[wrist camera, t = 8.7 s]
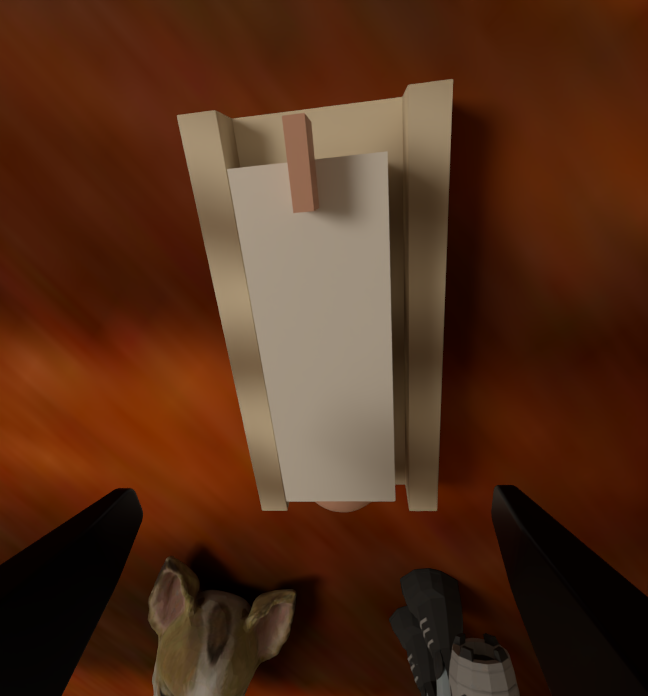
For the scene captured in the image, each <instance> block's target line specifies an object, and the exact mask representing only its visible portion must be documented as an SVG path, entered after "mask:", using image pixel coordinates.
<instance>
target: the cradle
mask: <svg viewBox="0 0 648 696" xmlns="http://www.w3.org/2000/svg"><path fill="white" fill-rule="evenodd" d="M452 95H453V79H450V80H442V81H435V82H427V83H419V84H412V85H408V87H407V89H406V91H405V93H404V95H403V97H399V98H391V99H384V100H376V101H368V102H360V103H352V104H345V105H337V106H329V107H321V108H313V109H305V110H298V111H290V112H282V113H274V114H266V115H259V116H251V117H243V118H235V119H231V118H229V117H227V116H225V115H223V114H221V113H219V112H217V111H215V110H214V111H206V112H199V113H191V114H184V115H177V119H178V123H179V128H180V133H181V137H182V142H183V147H184V151H185V156H186V160H187V165H188V170H189V174H190V179H191V184H192V188H193V193H194V197H195V202H196V207H197V211H198V216H199V221H200V225H201V230H202V234H203V239H204V244H205V248H206V253H207V257H208V262H209V267H210V271H211V276H212V281H213V285H214V290H215V294H216V299H217V304H218V308H219V313H220V318H221V322H222V327H223V331H224V336H225V341H226V345H227V350H228V355H229V359H230V364H231V368H232V373H233V378H234V382H235V387H236V392H237V396H238V401H239V405H240V410H241V415H242V419H243V424H244V429H245V433H246V438H247V442H248V447H249V452H250V456H251V461H252V466H253V470H254V475H255V479H256V484H257V489H258V493H259V498H260V503H261V507H262V511H287V509H288V505H289V501H286V497H285V491H284V486H283V480H282V474H281V469H280V463H279V458H278V452H277V446H276V441H275V435H274V430H273V424H272V418H271V413H270V407H269V402H268V396H267V390H266V385H265V379H264V374H263V368H262V362H261V357H260V351H259V346H258V340H257V334H256V329H255V323H254V318H253V312H252V306H251V301H250V295H249V290H248V284H247V278H246V273H245V267H244V262H243V256H242V251H241V245H240V239H239V234H238V228H237V223H236V217H235V211H234V206H233V200H232V195H231V189H230V183H229V178H228V172H227V169H233V168H242V167H251V166H260V165H269V164H278V163H287V156H286V147H285V139H284V131H283V122H282V116H284V115H292V114H300V113H305V114H306V116H307V117H308V118H309V119H310V121H311V124H312V134H313V145H314V156H315V159H322V158H331V157H340V156H349V155H358V154H367V153H376V152H385V151H388V196H389V241H390V285H391V330H392V375H393V419H394V464H395V484H405V485H406V491H407V498H408V505H409V511H437V495H438V469H439V442H440V415H441V389H442V362H443V335H444V309H445V282H446V255H447V229H448V202H449V175H450V149H451V122H452Z"/></svg>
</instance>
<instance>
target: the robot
mask: <svg viewBox="0 0 648 696" xmlns="http://www.w3.org/2000/svg"><path fill="white" fill-rule="evenodd" d="M400 582H401V588H402V593H403V595H404V598H405V601H406V603H407V606H405V607H401V608H398V609H397V610H396V611H395V612H394V614H393V615H392V616H391V617H390V618H389V621H390V623H391V626H392V629H393V631H394V632H395V634H396V635H397V637H398V638H399V640H400V642H401V644H402V646H403V648H404V649H406V650H407V655H408V661H409V663H410V666H411V671H412V672H413V675H414V679H415V682H416V684H417V687H418V689H419V690H420V692H421V696H519V690H518V686H517V682H516V677H515V673H514V669H513V666H512V663H511V659H510V656H509V653H508V651H507V650H506V649H504V648H503V647H502V646H501V645H499V643H498V641H497V639H496V637H495V636H492V635H489V634H487V633H485V634H483V635H484V639H477V638H467V639H465V634H463V616H462V606H461V600H460V594H459V589H458V581H457V580H455V579H453V578H452V577H450V576H448V575H446V574H444V573H443V572H441V571H438V570H434V569H430V568H428V569H417V570H413V571H412V572H410V573H409V574H407V575H405V576H404V577H402V578H401V579H400Z"/></svg>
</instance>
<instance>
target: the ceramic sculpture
mask: <svg viewBox="0 0 648 696" xmlns="http://www.w3.org/2000/svg"><path fill="white" fill-rule="evenodd" d="M199 589H200V582H199V579H198V577H197V575H196V574H195V573H194V572H193V571H192V570H191V569H190V568H189V567H188V566H187V565H185V564H184V563H183V562H181V561H180V560H178V559H176V558H175V557H174V556H169V557H168V558H167V559H166V561H165V563H164V565H163V566H162V568H161V570H160V573H159V575H158V577H157V580H156V582H155V584H154V588H153V590H152V593H151V595H150V597H149V608H150V610H149V615H148V620H149V623H150V625H151V627H152V628H153V629H154V630H155V631H156V633H157V634H158V637H159V645H158V650H157V658H156V664H155V668H154V673H153V677H152V683H153V688H154V696H245V693H246V690H247V688H248V685H249V683H250V681H251V679H252V677H253V675H254V672H255V670H256V669H257V667H258V666H259V664H260V663H261V662H264V661H265V660H269V659H271V658H273V657H275V656H276V655H278V654H279V652H280V650H281V647H282V645H283V644H284V643H285V642H286V641H287V639H288V637H289V635H290V629H291V624H292V622H293V616H294V611H295V606H296V596H297V593H296V591H295V590H294V589H284V590H274V591H269V592H266V593H262V594H261V595H259V596H258V597H257V598H256V599H255V601H254V602H253V605H252V607H251V606H250V605H249V603H248V602H247V601H246V600H245V599H243V598H242V597H240V596H237V595H234V594H231V593H228V592H224V591H219V590H206V591H203V592H200V593H198V592H199Z"/></svg>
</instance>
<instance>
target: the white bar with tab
mask: <svg viewBox="0 0 648 696" xmlns="http://www.w3.org/2000/svg"><path fill="white" fill-rule="evenodd" d="M282 122H283V131H284V139H285V147H286V156H287V163H278V164H269V165H260V166H251V167H242V168H233V169H227V172H228V178H229V183H230V189H231V195H232V200H233V206H234V211H235V217H236V223H237V228H238V234H239V239H240V245H241V251H242V256H243V262H244V267H245V273H246V278H247V284H248V290H249V295H250V301H251V306H252V312H253V318H254V323H255V329H256V334H257V340H258V346H259V351H260V357H261V362H262V368H263V374H264V379H265V385H266V390H267V396H268V402H269V407H270V413H271V418H272V424H273V430H274V435H275V441H276V446H277V452H278V458H279V463H280V469H281V474H282V480H283V486H284V491H285V497H286V501H315V502H316V503H317V504H319V505H320V506H322V507H324V508H326V509H328V510H331V511H336V512H351V511H355V510H358V509H360V508H362V507H364V506H366V505H368V504H369V503H370V502H371V501H395V464H394V419H393V375H392V330H391V285H390V241H389V196H388V151H385V152H376V153H367V154H358V155H349V156H340V157H331V158H322V159H315V156H314V145H313V134H312V124H311V121H310V119H309V118H308V117H307V116H306V114H305V113H300V114H292V115H284V116H282Z"/></svg>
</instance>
